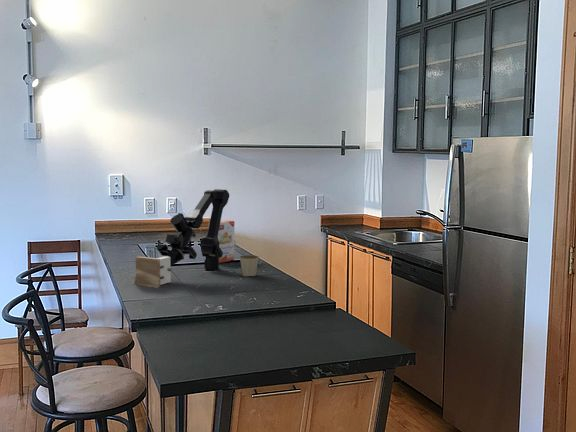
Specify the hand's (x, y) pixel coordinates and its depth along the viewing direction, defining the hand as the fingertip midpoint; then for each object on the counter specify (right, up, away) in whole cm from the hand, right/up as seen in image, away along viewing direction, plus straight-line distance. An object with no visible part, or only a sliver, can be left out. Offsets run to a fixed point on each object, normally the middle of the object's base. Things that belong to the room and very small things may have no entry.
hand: (168, 266), depth 281 cm
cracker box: (+18, -2, +51) cm, 55 cm away
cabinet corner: (-5, -7, -1) cm, 9 cm away
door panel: (-2, -7, -3) cm, 8 cm away
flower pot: (+34, -5, +17) cm, 39 cm away
